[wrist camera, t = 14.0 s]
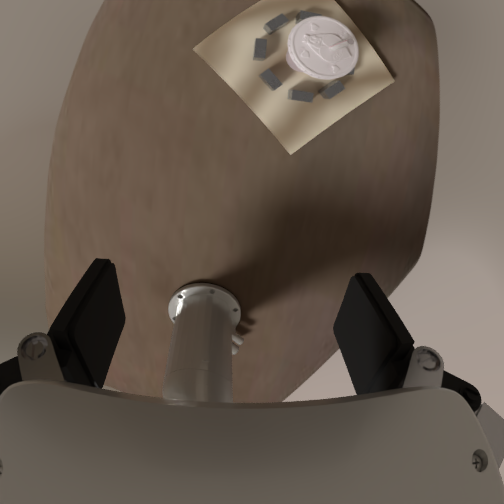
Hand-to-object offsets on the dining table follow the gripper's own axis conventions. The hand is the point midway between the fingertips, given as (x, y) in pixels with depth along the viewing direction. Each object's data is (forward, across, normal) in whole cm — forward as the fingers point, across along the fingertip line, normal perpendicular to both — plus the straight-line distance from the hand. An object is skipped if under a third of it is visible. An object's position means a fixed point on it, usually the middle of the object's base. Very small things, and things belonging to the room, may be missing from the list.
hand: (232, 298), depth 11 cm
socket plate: (+27, -7, -14) cm, 31 cm away
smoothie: (+25, -7, -14) cm, 30 cm away
